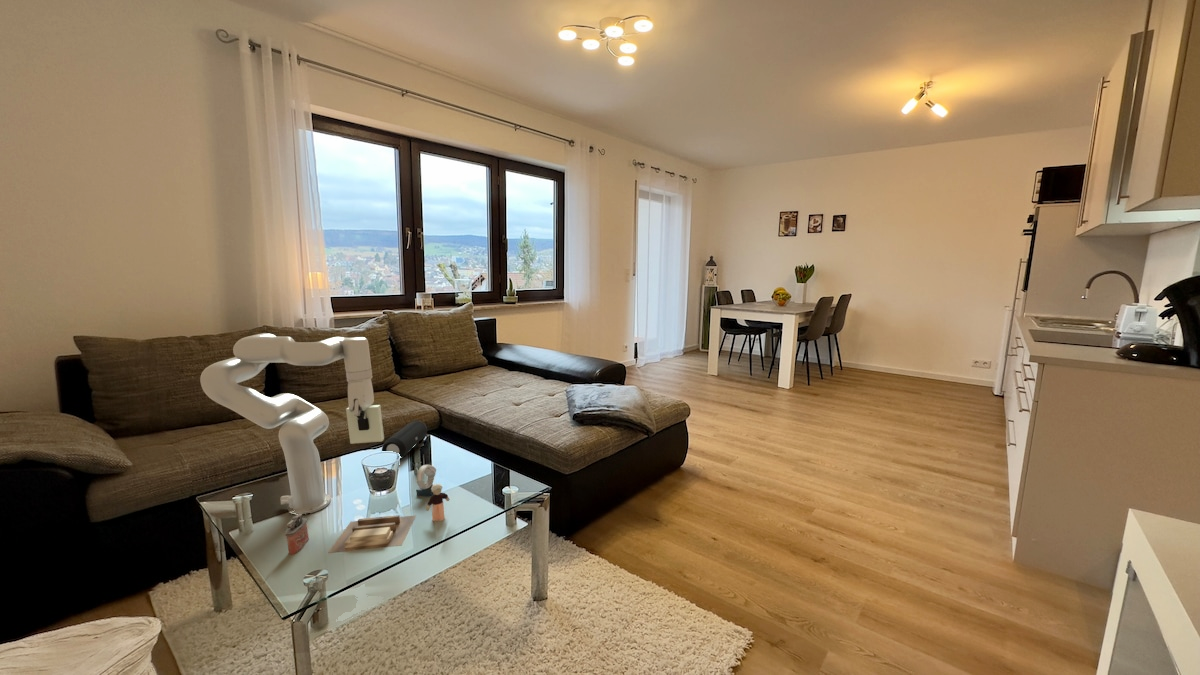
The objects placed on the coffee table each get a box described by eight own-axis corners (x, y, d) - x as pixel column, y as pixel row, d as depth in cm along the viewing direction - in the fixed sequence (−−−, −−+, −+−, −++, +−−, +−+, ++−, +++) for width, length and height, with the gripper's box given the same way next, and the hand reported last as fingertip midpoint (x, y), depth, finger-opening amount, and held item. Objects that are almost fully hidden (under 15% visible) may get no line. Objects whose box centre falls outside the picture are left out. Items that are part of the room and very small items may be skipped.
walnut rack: (328, 556, 131) (326, 544, 131) (351, 524, 147) (349, 514, 146) (402, 548, 134) (400, 537, 133) (416, 518, 149) (415, 508, 149)
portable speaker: (404, 463, 192) (401, 440, 190) (380, 463, 193) (378, 440, 191) (430, 439, 217) (428, 418, 215) (409, 439, 218) (407, 419, 216)
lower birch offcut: (345, 548, 133) (344, 543, 133) (350, 539, 137) (350, 535, 137) (388, 543, 135) (388, 538, 134) (393, 535, 139) (392, 530, 138)
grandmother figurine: (434, 528, 143) (430, 490, 141) (426, 525, 145) (422, 487, 143) (454, 516, 150) (450, 479, 148) (446, 513, 152) (442, 477, 150)
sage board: (350, 443, 155) (345, 409, 153) (353, 441, 157) (348, 406, 155) (381, 441, 156) (377, 407, 154) (384, 438, 158) (380, 404, 156)
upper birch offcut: (350, 542, 133) (349, 537, 133) (355, 535, 137) (354, 530, 137) (386, 538, 135) (386, 533, 134) (390, 531, 138) (390, 526, 138)
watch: (440, 490, 168) (437, 461, 166) (429, 501, 160) (425, 471, 158) (426, 489, 169) (423, 460, 167) (414, 500, 161) (410, 470, 159)
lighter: (301, 541, 139) (296, 510, 137) (313, 540, 139) (308, 509, 138) (285, 558, 131) (280, 525, 129) (298, 557, 131) (292, 524, 130)
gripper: (356, 370, 160) (363, 421, 163) (336, 381, 144) (344, 438, 147) (379, 368, 161) (385, 419, 164) (362, 380, 145) (369, 436, 148)
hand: (365, 427), depth 156 cm, fingers closed on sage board, 2 cm apart
